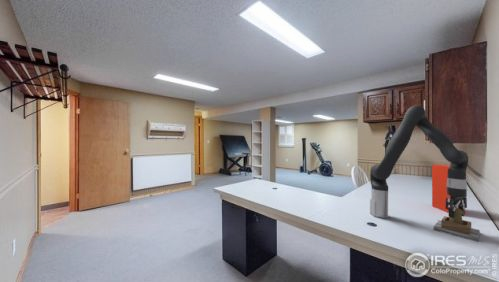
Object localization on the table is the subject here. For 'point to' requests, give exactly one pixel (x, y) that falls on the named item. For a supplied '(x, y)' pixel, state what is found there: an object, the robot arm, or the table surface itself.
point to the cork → (457, 216)
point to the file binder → (440, 187)
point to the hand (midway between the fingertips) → (456, 216)
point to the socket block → (457, 229)
